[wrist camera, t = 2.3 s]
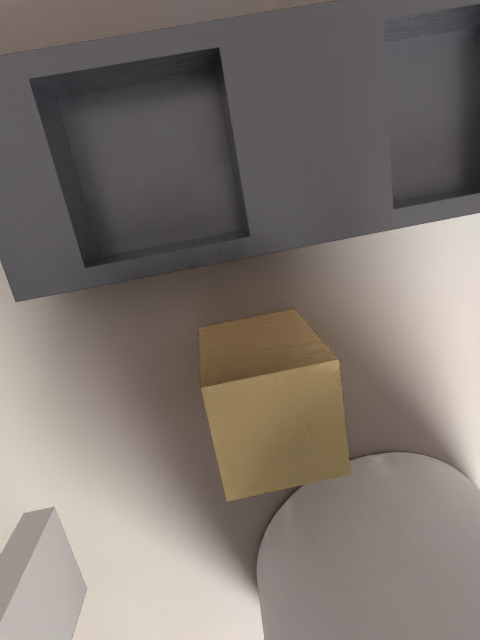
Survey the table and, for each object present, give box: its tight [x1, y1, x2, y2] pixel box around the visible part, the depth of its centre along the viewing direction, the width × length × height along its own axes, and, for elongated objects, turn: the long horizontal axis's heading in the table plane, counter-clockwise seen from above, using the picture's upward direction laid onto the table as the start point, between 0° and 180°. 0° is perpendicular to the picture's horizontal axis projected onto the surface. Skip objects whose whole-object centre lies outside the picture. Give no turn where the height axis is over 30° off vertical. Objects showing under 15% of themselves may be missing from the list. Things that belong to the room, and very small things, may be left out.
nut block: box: [199, 309, 351, 502], centre depth 16 cm, size 4×4×6 cm
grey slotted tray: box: [0, 0, 480, 302], centre depth 15 cm, size 22×7×3 cm, turn 100°
